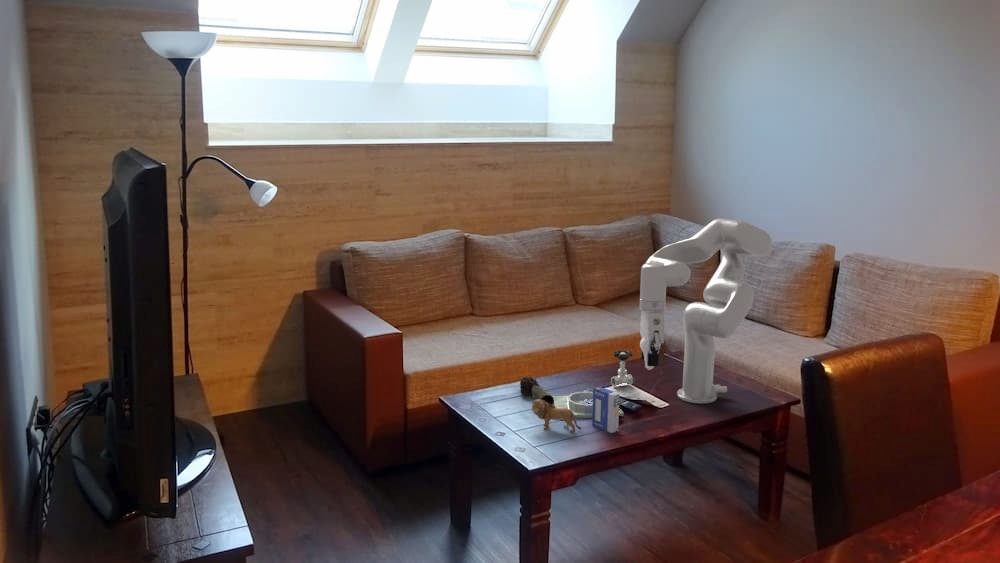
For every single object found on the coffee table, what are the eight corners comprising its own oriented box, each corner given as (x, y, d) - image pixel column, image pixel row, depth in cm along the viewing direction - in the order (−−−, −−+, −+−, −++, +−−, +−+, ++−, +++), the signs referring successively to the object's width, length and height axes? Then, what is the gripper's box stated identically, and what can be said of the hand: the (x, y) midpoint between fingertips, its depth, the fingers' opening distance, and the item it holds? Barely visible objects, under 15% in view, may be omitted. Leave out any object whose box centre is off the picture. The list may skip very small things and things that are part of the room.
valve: (608, 384, 273) (609, 350, 270) (624, 382, 275) (626, 348, 273) (618, 391, 267) (619, 356, 264) (635, 388, 270) (636, 354, 267)
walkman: (591, 425, 239) (593, 387, 236) (598, 423, 241) (599, 385, 238) (612, 433, 233) (613, 394, 230) (618, 431, 235) (620, 392, 232)
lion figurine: (530, 431, 235) (531, 402, 233) (532, 424, 240) (532, 395, 238) (581, 434, 233) (582, 404, 231) (581, 426, 238) (582, 398, 236)
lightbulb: (638, 366, 246) (639, 331, 244) (658, 366, 246) (660, 332, 243) (639, 372, 241) (640, 337, 238) (660, 373, 240) (661, 338, 237)
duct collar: (611, 397, 261) (611, 388, 260) (623, 416, 245) (623, 406, 245) (550, 399, 259) (550, 390, 258) (559, 419, 243) (559, 409, 243)
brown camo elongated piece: (554, 406, 254) (554, 390, 252) (534, 409, 251) (534, 393, 250) (533, 387, 270) (533, 372, 268) (514, 390, 268) (514, 374, 266)
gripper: (673, 311, 231) (670, 371, 235) (655, 297, 247) (653, 353, 251) (648, 312, 230) (645, 372, 234) (632, 297, 246) (629, 354, 250)
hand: (649, 361), depth 243 cm, fingers closed on lightbulb, 5 cm apart
